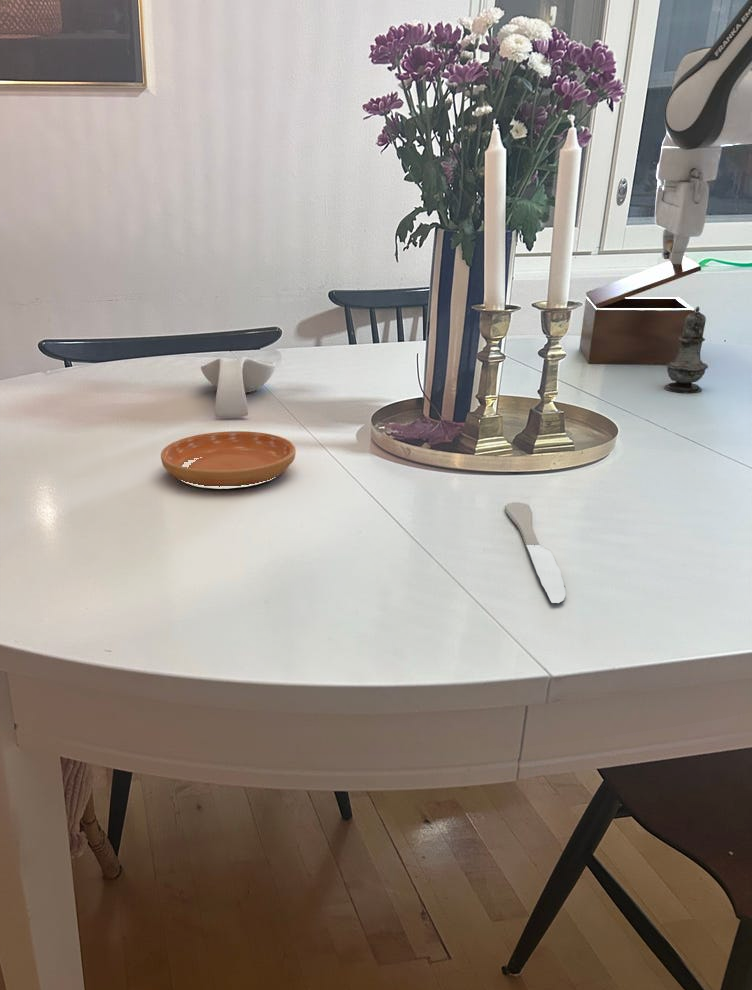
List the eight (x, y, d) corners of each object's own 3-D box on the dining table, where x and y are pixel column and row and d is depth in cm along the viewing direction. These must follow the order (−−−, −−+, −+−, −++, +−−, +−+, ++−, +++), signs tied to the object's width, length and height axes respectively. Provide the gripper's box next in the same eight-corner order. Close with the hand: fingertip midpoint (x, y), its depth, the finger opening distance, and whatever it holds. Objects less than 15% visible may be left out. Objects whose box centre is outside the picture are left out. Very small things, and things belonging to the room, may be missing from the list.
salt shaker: (661, 392, 141) (676, 308, 135) (662, 383, 146) (676, 302, 140) (703, 394, 139) (720, 310, 133) (703, 385, 144) (719, 303, 138)
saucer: (134, 479, 111) (132, 454, 109) (221, 445, 122) (220, 423, 120) (239, 505, 102) (238, 479, 101) (322, 467, 113) (322, 443, 112)
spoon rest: (204, 381, 154) (202, 336, 150) (276, 379, 153) (275, 334, 150) (192, 420, 133) (189, 369, 129) (275, 418, 133) (274, 367, 129)
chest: (669, 349, 167) (678, 297, 163) (685, 364, 156) (695, 309, 152) (579, 348, 169) (585, 297, 165) (588, 363, 159) (595, 309, 154)
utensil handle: (531, 502, 100) (503, 501, 100) (575, 602, 79) (539, 601, 79) (531, 506, 100) (503, 505, 100) (574, 606, 79) (539, 605, 79)
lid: (684, 260, 160) (678, 232, 158) (701, 270, 149) (695, 240, 147) (586, 296, 165) (580, 269, 163) (596, 308, 154) (589, 280, 152)
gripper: (725, 170, 139) (706, 269, 145) (694, 165, 156) (678, 253, 163) (681, 170, 140) (663, 269, 146) (655, 165, 157) (640, 253, 164)
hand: (671, 261), depth 155 cm, fingers closed on lid, 5 cm apart
